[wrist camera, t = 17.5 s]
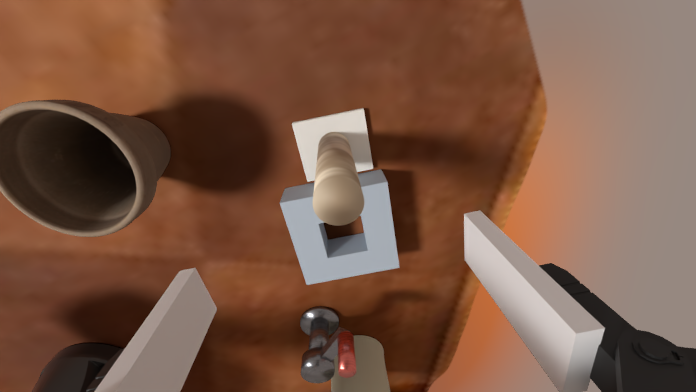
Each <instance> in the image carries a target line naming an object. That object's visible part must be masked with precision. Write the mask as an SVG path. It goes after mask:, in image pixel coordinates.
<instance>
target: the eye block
mask: <svg viewBox="0 0 696 392" xmlns="http://www.w3.org/2000/svg"><path fill="white" fill-rule="evenodd" d="M358 177H359V181H360V185H361V189H362V192H363V196H364V208H363V211H362V213H361V214H360V216H361V218H362V223H363V229H364V233H361V234H355V235H350V236H345V237H340V238H335V239H329V240H328V238H327V234H326V231H325V227H324V223H325V222H323V221H322V220H321V219H319V218H318V216H317V215H316V214H315V212H314V209H313V193H314V183H310V184H305V185H300V186H295V187H290V188H285V190H284V193H283V195H282V198H281V201H280V205H281V208H282V211H283V214H284V217H285V220H286V223H287V226H288V229H289V232H290V235H291V238H292V241H293V244H294V247H295V251H296V254H297V257H298V260H299V263H300V266H301V269H302V272H303V275H304V278H305V281H306V284H307V285H309V284H315V283H320V282H325V281H331V280H336V279H341V278H347V277H352V276H357V275H362V274H368V273H373V272H378V271H384V270H389V269H394V268H399V261H398V254H397V247H396V240H395V233H394V225H393V218H392V211H391V204H390V197H389V189H388V182H387V180H386V178H385V176H384V174H383V172H382V170H381V169H380V170H375V171H370V172H365V173H360V174H358Z"/></svg>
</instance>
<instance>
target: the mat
mask: <svg viewBox="0 0 696 392" xmlns="http://www.w3.org/2000/svg"><path fill="white" fill-rule="evenodd" d="M292 126H293V130H294V134H295V138H296V141H297V145H298V149H299V152H300V156H301V160H302V163H303V167H304V171H305V174H306V178H307V182H309V181H314V180H315V173H316V163H317V153H318V144H319V141H320V139H321V138H322V137H323V136H324V135H325V134H327V133H329V132H339V133H341V134H343V135H344V136H345V137H346V138H347V139H348V141H349V144H350V148H351V152H352V155H353V159H354V163H355V166H356V170H357V172H360V171H365V170H370V169H373V163H372V157H371V151H370V145H369V138H368V132H367V126H366V119H365V113H364V108H361V109H356V110H352V111H347V112H342V113H337V114H332V115H327V116H322V117H317V118H312V119H308V120H303V121H298V122H293V123H292Z"/></svg>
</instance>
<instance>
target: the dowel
mask: <svg viewBox="0 0 696 392" xmlns="http://www.w3.org/2000/svg"><path fill="white" fill-rule="evenodd" d="M363 208H364V196H363V192H362V189H361V185H360V181H359V177H358V174H357V170H356V166H355V163H354V159H353V155H352V152H351V148H350V144H349V141H348V139H347V138H346V137H345V136H344V135H343V134H341V133H339V132H329V133H327V134H325V135H324V136H323V137H322V138H321V139H320V141H319V144H318V153H317V163H316V173H315V183H314V193H313V209H314V212H315V214H316V215H317V216H318V218H319V219H321V220H322V221H323V222H325V223H327V224H330V225H335V226H341V225H346V224H349V223H351V222H353V221H354V220H356V219H357V218H358V217H359V216H360V214H361V213H362V211H363Z"/></svg>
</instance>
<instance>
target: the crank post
mask: <svg viewBox="0 0 696 392" xmlns="http://www.w3.org/2000/svg"><path fill="white" fill-rule="evenodd" d="M300 326H301V328H302V330H303V331H304V332H305V333H306V334H308V335H310V339H309V349H312V348H316V347H321V348H323V346H324V345H325V344H326V343H327V342H328V340H329V335H330V334H332V333H334V332H335V331H336V330H337V328H338V326H339V317H338V315H337V313H336V312H335V311H334V310H332V309H330V308H328V307H322V306H318V307H313V308H310V309H308V310H306V311H305V312H304V313H303V315H302V316H301V321H300Z"/></svg>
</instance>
